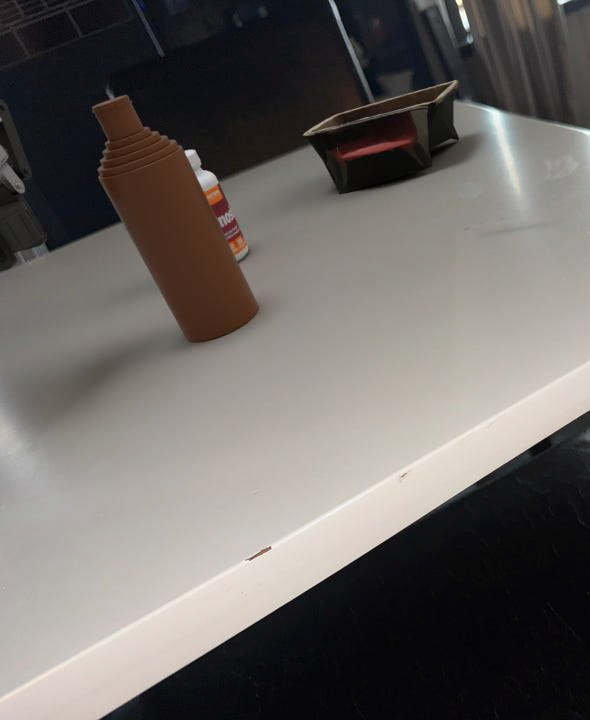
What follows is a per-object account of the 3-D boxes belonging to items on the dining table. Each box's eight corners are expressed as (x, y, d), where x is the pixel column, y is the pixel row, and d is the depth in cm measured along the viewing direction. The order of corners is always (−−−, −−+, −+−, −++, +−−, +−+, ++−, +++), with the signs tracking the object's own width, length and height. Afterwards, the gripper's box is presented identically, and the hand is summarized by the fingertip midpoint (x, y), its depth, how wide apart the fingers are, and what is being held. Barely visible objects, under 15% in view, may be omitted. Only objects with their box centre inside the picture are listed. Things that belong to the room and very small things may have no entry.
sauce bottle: (175, 349, 62) (49, 124, 53) (197, 314, 67) (86, 105, 58) (250, 328, 61) (135, 96, 52) (265, 294, 67) (164, 80, 58)
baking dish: (373, 171, 101) (332, 101, 96) (492, 122, 93) (455, 43, 88) (331, 223, 90) (284, 147, 85) (463, 174, 82) (418, 86, 77)
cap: (53, 230, 57) (32, 195, 56) (27, 249, 54) (4, 213, 53) (7, 244, 58) (-15, 210, 57) (-21, 264, 54) (-45, 228, 53)
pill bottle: (242, 265, 76) (191, 158, 70) (184, 282, 76) (129, 177, 71) (256, 242, 81) (209, 141, 76) (202, 258, 82) (152, 159, 76)
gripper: (-166, 4, 41) (16, 284, 50) (-21, -16, 54) (105, 211, 62) (-282, 45, 42) (-85, 313, 51) (-114, 17, 55) (23, 236, 63)
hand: (19, 256), depth 56 cm, fingers closed on cap, 4 cm apart
